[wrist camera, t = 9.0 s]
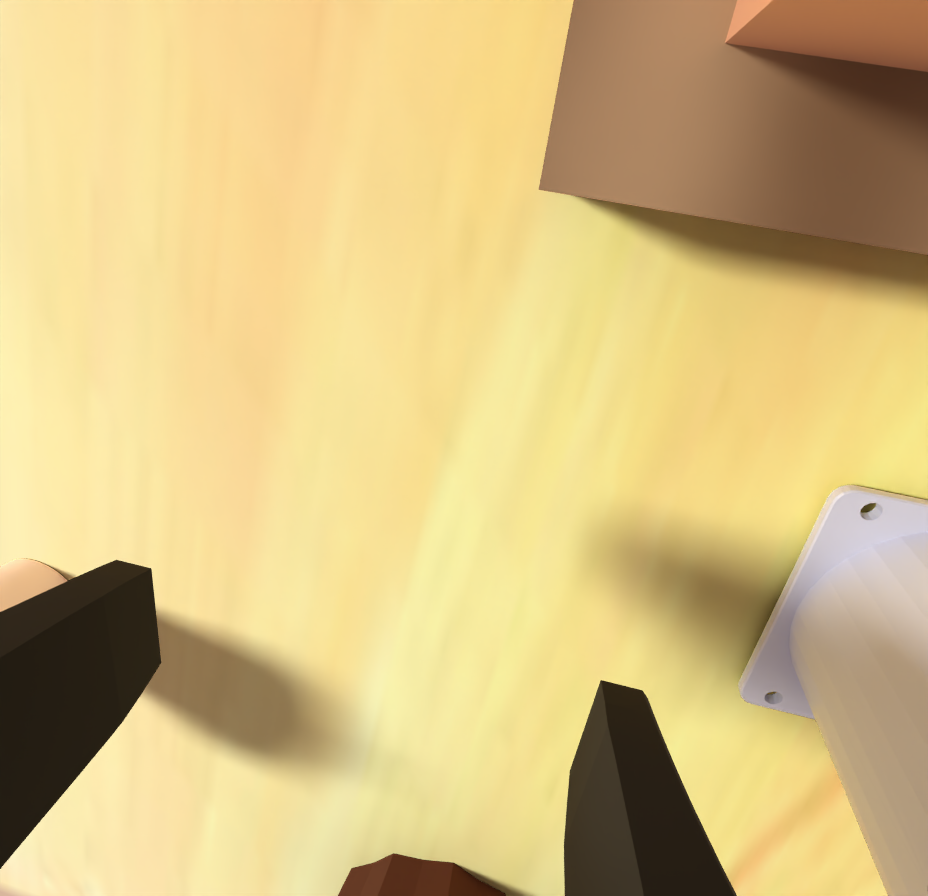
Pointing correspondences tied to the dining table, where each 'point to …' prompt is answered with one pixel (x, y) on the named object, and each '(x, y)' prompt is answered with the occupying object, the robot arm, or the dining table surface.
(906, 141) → the walnut block
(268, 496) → the dining table surface
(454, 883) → the muffin
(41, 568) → the smoothie
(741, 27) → the terracotta cube
